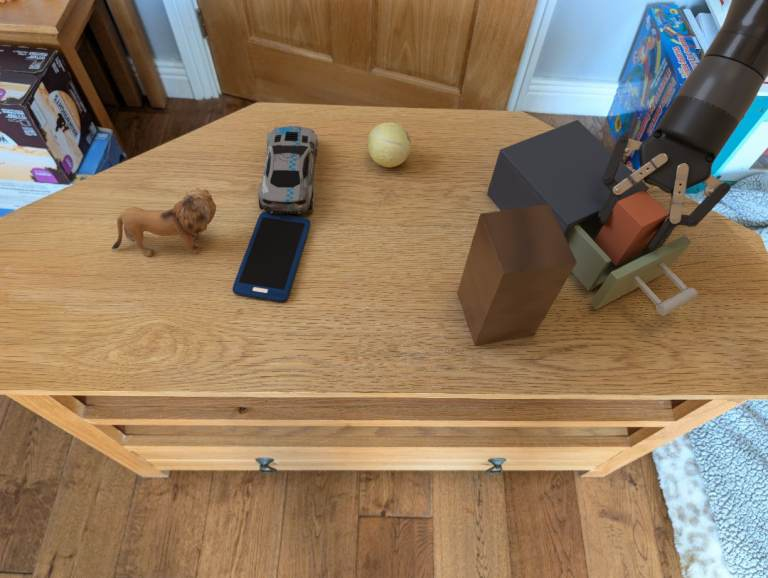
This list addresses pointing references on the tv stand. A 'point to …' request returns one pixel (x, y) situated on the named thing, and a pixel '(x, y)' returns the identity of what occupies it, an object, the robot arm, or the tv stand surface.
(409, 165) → the tv stand surface
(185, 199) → the lion figurine
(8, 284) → the tv stand surface
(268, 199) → the toy car
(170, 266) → the tv stand surface
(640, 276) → the drawer
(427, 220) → the tv stand surface
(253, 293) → the cell phone
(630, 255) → the block
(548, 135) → the cabinet
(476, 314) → the stand
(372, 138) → the tennis ball
